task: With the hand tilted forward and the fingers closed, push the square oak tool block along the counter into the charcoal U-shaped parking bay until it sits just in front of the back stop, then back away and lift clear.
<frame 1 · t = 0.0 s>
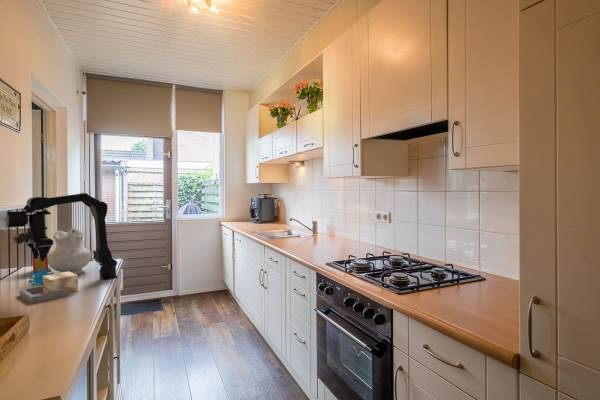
hand: (39, 260, 144), 15 cm above the worktop, tool pointing down, fingers open, 9 cm apart
parking bay: (44, 295, 141), on the worktop
ceramic pitcher: (71, 274, 176), on the worktop
gear: (43, 285, 156), on the worktop
baking soda box: (42, 270, 185), on the worktop
oak tool block: (60, 291, 146), on the worktop
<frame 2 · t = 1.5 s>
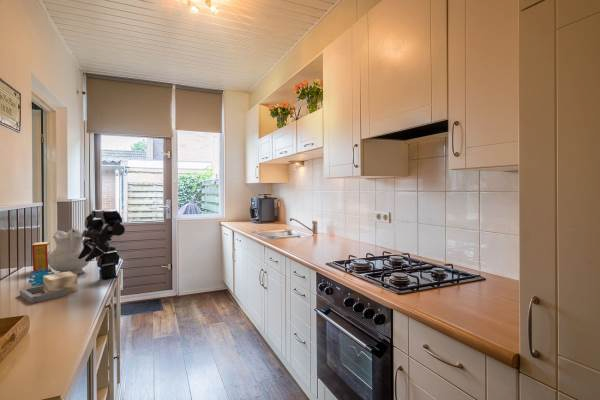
hand: (82, 260, 152), 13 cm above the worktop, tool tilted 45°, fingers open, 8 cm apart
nothing on the worktop moved.
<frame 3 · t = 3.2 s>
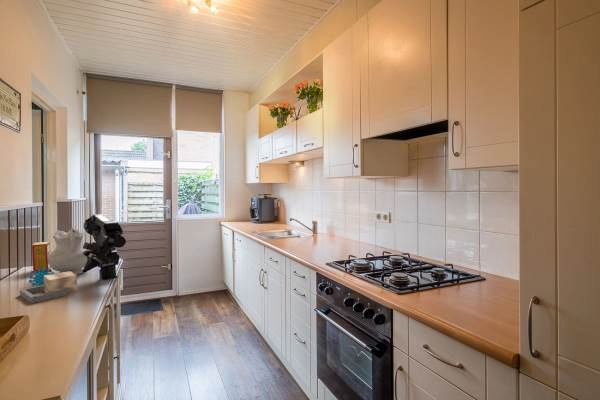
hand: (83, 272, 153), 7 cm above the worktop, tool tilted 45°, fingers closed
nothing on the worktop moved.
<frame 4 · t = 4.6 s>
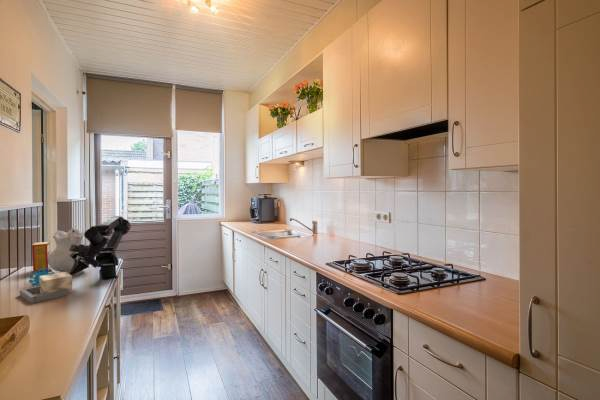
hand: (69, 275, 148), 7 cm above the worktop, tool tilted 45°, fingers closed
oak tool block: (56, 292, 144), on the worktop, touching gripper
everything else where it was.
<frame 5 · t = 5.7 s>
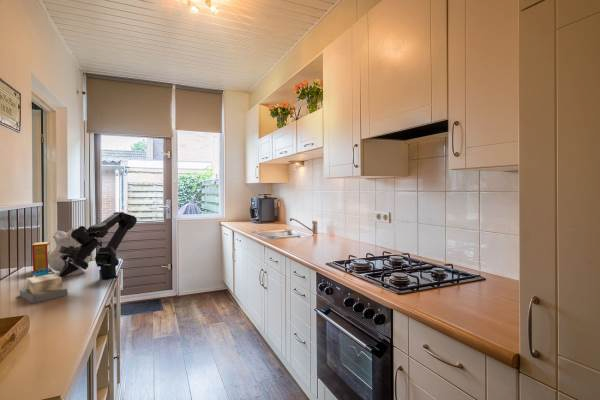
hand: (59, 277, 145), 6 cm above the worktop, tool tilted 45°, fingers closed
oak tool block: (45, 294, 141), on the worktop, touching gripper, parking bay
everything else where it was.
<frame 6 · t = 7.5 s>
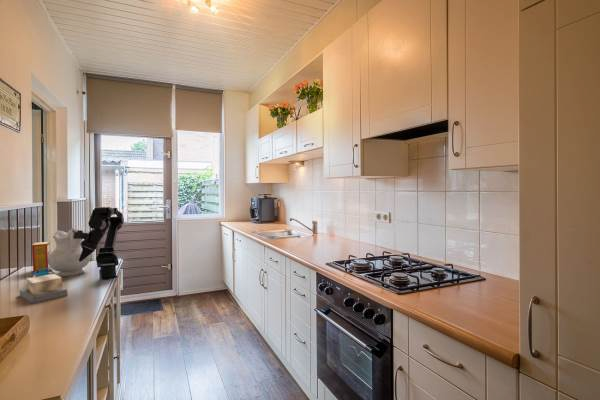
hand: (79, 261, 152), 12 cm above the worktop, tool tilted 30°, fingers closed
oak tool block: (45, 295, 142), on the worktop
everything else where it was.
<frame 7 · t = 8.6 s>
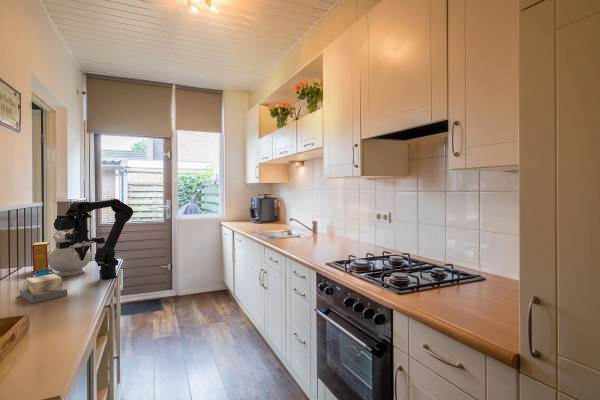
hand: (81, 260, 154), 12 cm above the worktop, tool pointing down, fingers closed
nothing on the worktop moved.
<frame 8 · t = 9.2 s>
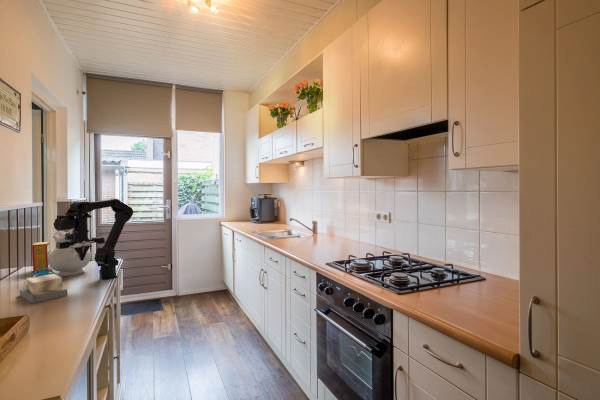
hand: (81, 260, 154), 12 cm above the worktop, tool pointing down, fingers closed
nothing on the worktop moved.
at the end: oak tool block 0.7 cm from the target spot, on the worktop; oak tool block tilted 0° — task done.
